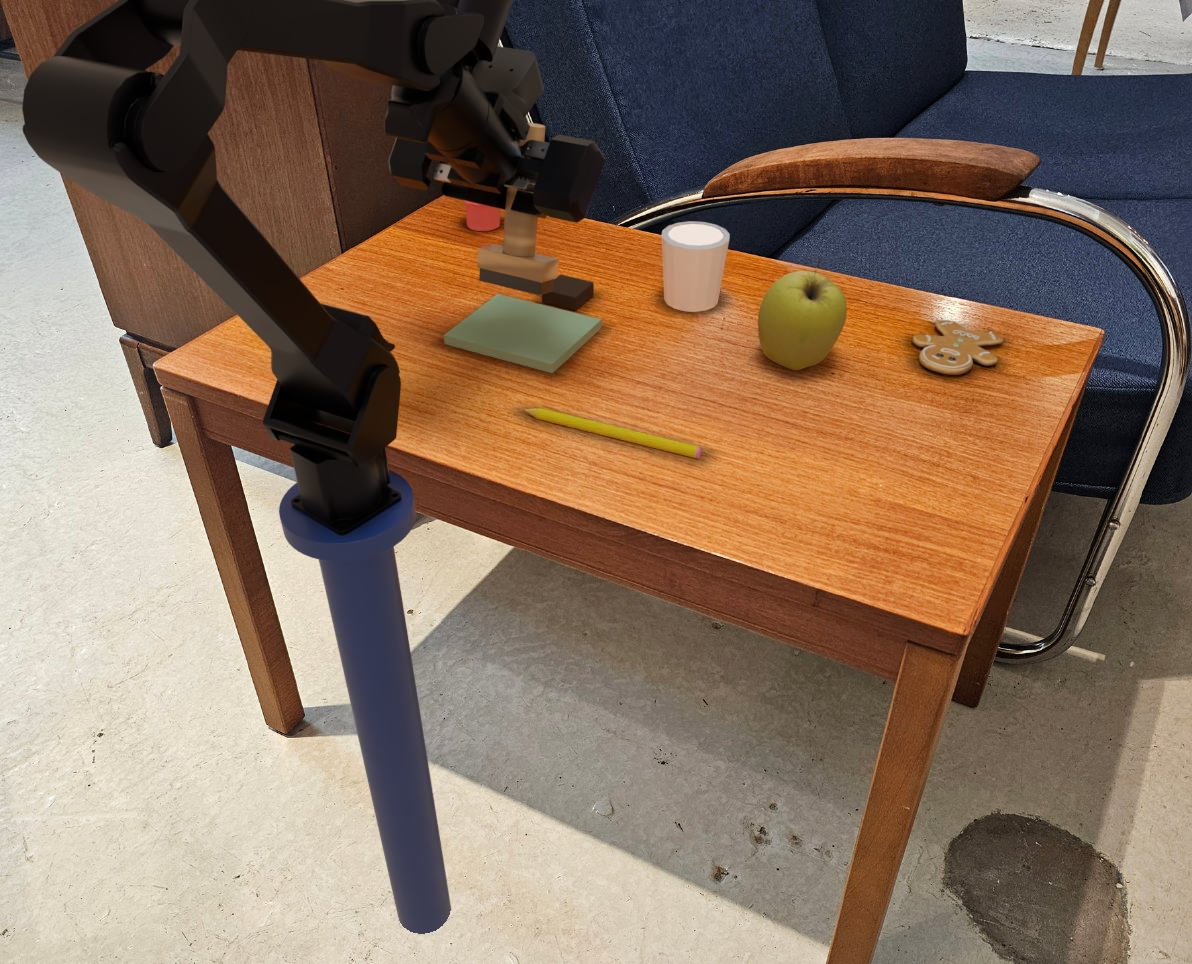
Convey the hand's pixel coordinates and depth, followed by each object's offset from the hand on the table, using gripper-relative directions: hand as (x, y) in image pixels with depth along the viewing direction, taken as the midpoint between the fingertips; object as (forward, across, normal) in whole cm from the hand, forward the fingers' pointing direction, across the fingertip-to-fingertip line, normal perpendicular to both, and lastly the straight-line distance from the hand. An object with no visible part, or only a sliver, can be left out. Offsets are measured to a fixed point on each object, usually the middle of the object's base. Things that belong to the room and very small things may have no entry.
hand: (530, 209), depth 97 cm
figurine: (+22, +18, -5) cm, 29 cm away
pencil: (-1, -15, +18) cm, 24 cm away
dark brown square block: (+13, 0, +3) cm, 14 cm away
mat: (+7, 0, +10) cm, 12 cm away
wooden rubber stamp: (+2, 0, +6) cm, 7 cm away
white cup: (+18, -11, -1) cm, 21 cm away
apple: (+13, -25, +4) cm, 29 cm away
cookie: (+18, -38, -2) cm, 42 cm away
